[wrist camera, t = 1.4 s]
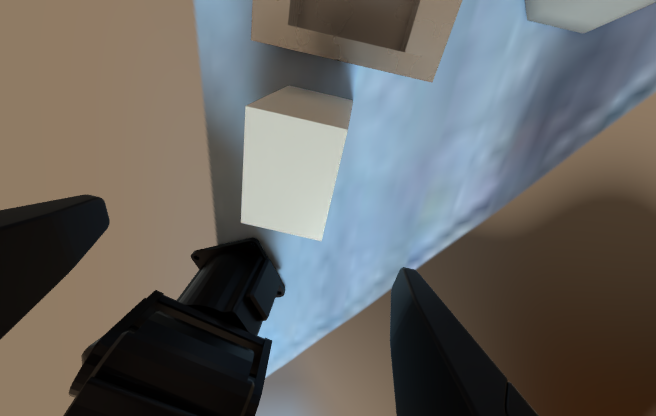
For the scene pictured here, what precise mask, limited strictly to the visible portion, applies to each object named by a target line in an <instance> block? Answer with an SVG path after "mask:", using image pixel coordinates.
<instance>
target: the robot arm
mask: <svg viewBox="0 0 656 416" xmlns="http://www.w3.org/2000/svg"><path fill="white" fill-rule="evenodd" d="M108 225H109V216H108V213H107V209H106V205H105V202H104V200H103V199H102V198H100V197H96V196H92V195H80V196H75V197H69V198H64V199H59V200H53V201H48V202H42V203H37V204H32V205H26V206H21V207H16V208H10V209H5V210H0V339H1V338H2V337H3V336H4V335H5V334H6V333H8V332H9V331H10V330H11V329H12V327H14V326H15V325H16V324H17V323H18V322H19V321H20V320H21V319H22V318H23V317H24V316H25V315H26V314H27V313H28V312H29V311H30V310H31V309H32V308H33V307H34V306H35V305H36V304H37V303H38V302H39V301H40V300H41V299H42V298H44V296H46V294H48V293H49V292H50V291H51V290H52V289H53V288H54V287H55V286H56V285H57V284H58V283H59V282H60V281H61V280H62V279H63V278H64V277H65V276H66V275H67V274H68V273H69V272H70V271H71V270H72V269H73V268H74V267H75V266H76V264H77V263H78V262H79V261H80V260H81V259H82V257H83V256H84V255H85V254H86V253H87V252H88V250H89V249H90V248H91V247H92V246H93V245H94V243H95V242H96V241H97V240H98V239H99V238H100V236H101V235H102V234H103V233H104V232H105V231H106V229H107V228H108ZM251 243H252V244H254V245H252V244H251ZM191 258H192V260H193V261H194V262H195V264H196V265H197V267H198V268H199V271H198V272H197V274H196V275H195V277H194V278H193V279H192V280H191V282H190V283H189V284H188V286H187V287H186V289H185V290H184V291H183V293H182V294H181V295H180V297H179V298H178V299H177V301H176V300H174V299H172V298H169V297H167V296H165V295H163V293H162V292H159V291H157V290H155V291H154V292H153V293H152V294H151V295H150V296H149V297H148V298H144V299H143V300H142V301H141V302H140V303H139V304H138V305H136V306H135V308H133V309H132V310H131V311H130V312H129V313H128V314H127V315H126V316H124V317H123V318H122V319H121V321H119V322H118V323H117V324H116V325H115V326H114V327H112V328H111V329H110V330H109V331H108V332H107V333H106V334H105V335H104V336H103V337H101V338H100V339H98V340H97V341H95V342H94V343H93V344H91V345H90V346H89V347H88V348H87V349H86V350H85V351H84V353H83V354H82V367H81V369H80V370H79V372H78V374H77V376H76V378H75V379H74V381H73V383H72V386H71V387H70V391H69V395H70V396H72V397H75V399H74V401H73V402H72V404H71V405H70V407H69V408H68V410H67V411H66V413H65V414H64V416H255V414H256V411H257V408H258V405H259V401H260V398H261V394H262V390H263V385H264V380H265V375H266V370H267V365H268V360H269V354H270V349H271V344H272V340H270V339H267V338H265V339H264V338H261V337H259V336H257V335H258V332H259V330H260V327H261V324H262V322H263V321H265V320H267V318H268V316H269V313H270V311H271V308H272V305H273V302H274V299H275V298H276V297H282V296H283V295H284V293H285V288H284V286H283V284H282V283H281V279H280V278H279V276H278V274H277V272H276V270H275V268H274V267H273V265H272V263H271V261H270V260H269V259H268V257H267V255H266V254H265V252H264V250H263V248H262V246H261V244H260V243H259V241H258V240H257V239H255V238H249V239H245V240H240V241H236V242H231V243H227V244H222V245H218V246H213V247H209V248H205V249H200V250H196V251H194V252H193V254H192V255H191ZM390 320H391V322H390V347H391V359H392V370H393V380H394V392H395V402H396V413H397V416H539V415H538V414H537V413H536V412H535V410H534V409H533V408H532V407H531V406H530V405H529V404H528V403H527V401H526V400H525V399H524V398H523V397H522V395H521V394H520V393H519V392H518V391H517V389H516V388H515V387H514V386H513V385H512V383H510V382H508V380H507V378H506V377H505V375H504V374H503V373H502V372H501V371H500V369H499V368H498V367H497V366H496V365H495V363H494V362H493V361H492V360H491V359H490V358H489V356H488V355H487V354H486V353H485V352H484V350H483V349H482V348H481V347H480V346H479V344H478V343H477V342H476V341H475V340H474V339H473V337H472V336H471V335H470V334H469V333H468V331H467V330H466V329H465V328H464V327H463V325H462V324H461V323H460V322H459V321H458V319H457V318H456V317H455V316H454V315H453V313H451V311H450V310H449V309H448V308H447V306H446V305H445V304H444V303H443V302H442V300H441V299H440V298H439V297H438V296H437V294H436V293H435V292H434V291H433V290H432V288H431V287H430V286H429V285H428V284H427V283H426V281H425V280H424V279H423V278H422V277H421V275H420V274H419V273H418V272H417V271H416V270H414V269H410V268H405V267H403V268H401V269H400V271H399V273H398V275H397V277H396V280H395V282H394V284H393V286H392V290H391V319H390Z"/></svg>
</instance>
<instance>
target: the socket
mask: <svg viewBox="0 0 656 416" xmlns="http://www.w3.org/2000/svg"><path fill="white" fill-rule="evenodd" d="M461 2H462V0H253V8H252V30H251V40H253V41H257V42H261V43H265V44H270V45H274V46H278V47H282V48H287V49H291V50H295V51H300V52H304V53H308V54H312V55H317V56H321V57H325V58H330V59H334V60H338V61H342V62H347V63H351V64H355V65H359V66H364V67H368V68H372V69H377V70H381V71H385V72H389V73H394V74H398V75H402V76H407V77H411V78H415V79H419V80H424V81H428V82H433V79H434V76H435V74H436V71H437V68H438V65H439V63H440V60H441V57H442V54H443V52H444V49H445V46H446V44H447V41H448V38H449V35H450V33H451V30H452V27H453V24H454V22H455V19H456V16H457V13H458V11H459V8H460V5H461Z"/></svg>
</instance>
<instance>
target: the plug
mask: <svg viewBox="0 0 656 416" xmlns="http://www.w3.org/2000/svg"><path fill="white" fill-rule="evenodd" d="M352 105H353V100H350V99H345V98H341V97H337V96H332V95H328V94H324V93H320V92H315V91H311V90H307V89H302V88H298V87H294V86H289V85H288V86H286V87H284V88H282V89H280V90H278V91H276V92H273V93H271V94H269V95H267V96H265V97H263V98H261V99H259V100H257V101H255V102H253V103H251V104H249V105H247V106H246V107H245V132H244V157H243V182H242V207H241V223H244V224H249V225H253V226H257V227H262V228H266V229H270V230H275V231H279V232H283V233H288V234H292V235H297V236H301V237H305V238H310V239H314V240H318V241H322V237H323V232H324V228H325V224H326V220H327V215H328V211H329V207H330V203H331V199H332V194H333V190H334V186H335V182H336V177H337V173H338V169H339V165H340V161H341V156H342V152H343V148H344V144H345V139H346V135H347V131H348V126H349V121H350V115H351V110H352Z"/></svg>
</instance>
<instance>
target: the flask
mask: <svg viewBox="0 0 656 416" xmlns="http://www.w3.org/2000/svg"><path fill="white" fill-rule="evenodd" d="M653 3H656V0H525V4H526V13H527V20H529V21H533V22H537V23H541V24H546V25H550V26H554V27H558V28H562V29H566V30H570V31H574V32H579V33H583V34H584V33H586V32H588V31H591V30H593V29H595V28H598V27H600V26H602V25H605V24H607V23H609V22H612V21H614V20H616V19H619V18H621V17H623V16H626V15H628V14H630V13H632V12H635V11H637V10H639V9H642V8H644V7H646V6H649V5H651V4H653Z"/></svg>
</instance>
